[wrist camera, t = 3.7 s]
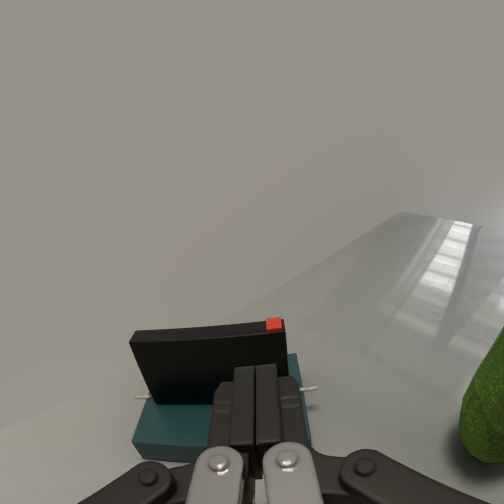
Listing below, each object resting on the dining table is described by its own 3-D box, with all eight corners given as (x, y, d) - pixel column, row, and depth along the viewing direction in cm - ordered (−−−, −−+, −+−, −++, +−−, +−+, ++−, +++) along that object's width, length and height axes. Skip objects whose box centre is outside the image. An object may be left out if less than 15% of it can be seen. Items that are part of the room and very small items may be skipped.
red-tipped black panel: (155, 404, 22) (127, 339, 20) (159, 391, 23) (134, 327, 21) (291, 398, 21) (285, 328, 19) (289, 384, 23) (283, 315, 21)
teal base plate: (123, 481, 16) (107, 464, 15) (163, 365, 31) (156, 346, 30) (331, 482, 16) (333, 465, 15) (305, 354, 30) (304, 334, 29)
